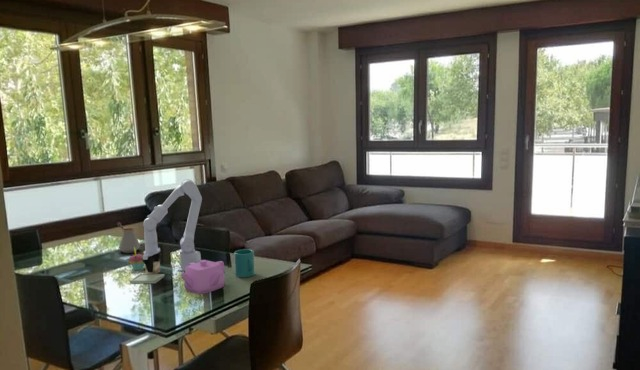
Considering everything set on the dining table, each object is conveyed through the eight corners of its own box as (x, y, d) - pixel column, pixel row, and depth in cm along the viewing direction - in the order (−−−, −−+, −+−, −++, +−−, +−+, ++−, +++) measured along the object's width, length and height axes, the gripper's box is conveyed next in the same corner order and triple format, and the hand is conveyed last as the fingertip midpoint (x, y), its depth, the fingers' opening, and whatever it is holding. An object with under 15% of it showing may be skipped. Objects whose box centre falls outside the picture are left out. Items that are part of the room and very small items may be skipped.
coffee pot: (143, 251, 270) (141, 225, 268) (123, 255, 262) (121, 228, 261) (129, 244, 286) (128, 220, 284) (110, 248, 278) (108, 223, 276)
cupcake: (141, 271, 231) (139, 247, 230) (125, 270, 233) (123, 247, 231) (150, 266, 239) (149, 243, 238) (135, 265, 241) (133, 242, 240)
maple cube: (160, 271, 230) (159, 261, 230) (155, 274, 225) (155, 264, 225) (150, 271, 231) (149, 261, 230) (145, 274, 226) (145, 264, 225)
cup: (245, 281, 213) (243, 256, 212) (231, 275, 222) (230, 251, 221) (261, 276, 219) (261, 253, 217) (248, 270, 228) (247, 248, 226)
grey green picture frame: (164, 276, 222) (164, 274, 222) (155, 283, 212) (155, 281, 212) (140, 276, 223) (140, 273, 223) (129, 283, 214) (129, 280, 213)
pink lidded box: (226, 280, 214) (224, 254, 212) (222, 293, 197) (221, 265, 196) (187, 283, 212) (186, 256, 210) (181, 296, 195) (179, 267, 194)
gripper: (149, 239, 234) (151, 265, 235) (135, 246, 219) (137, 274, 221) (163, 239, 233) (165, 265, 235) (150, 246, 219) (152, 274, 220)
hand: (152, 270), depth 228 cm, fingers closed on maple cube, 5 cm apart
